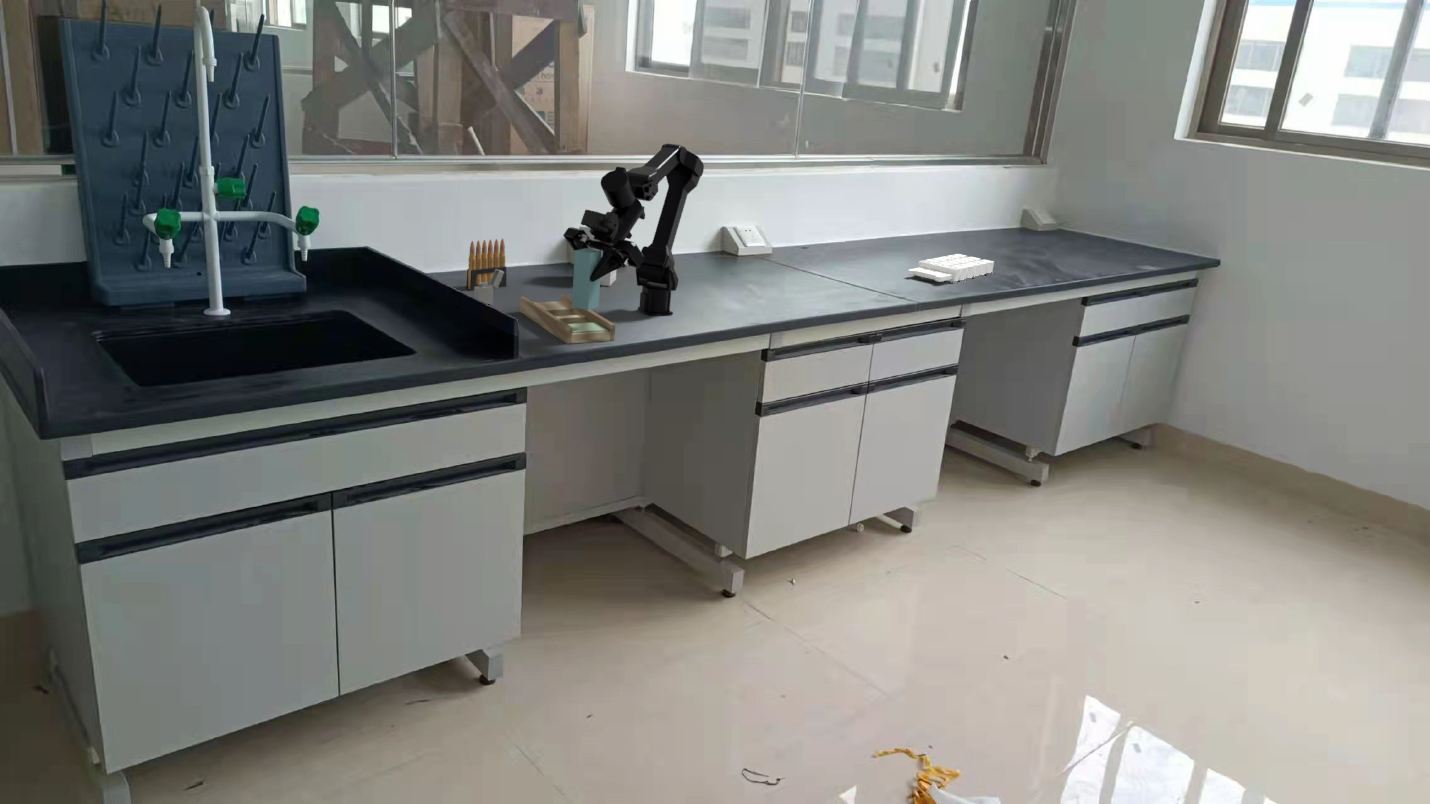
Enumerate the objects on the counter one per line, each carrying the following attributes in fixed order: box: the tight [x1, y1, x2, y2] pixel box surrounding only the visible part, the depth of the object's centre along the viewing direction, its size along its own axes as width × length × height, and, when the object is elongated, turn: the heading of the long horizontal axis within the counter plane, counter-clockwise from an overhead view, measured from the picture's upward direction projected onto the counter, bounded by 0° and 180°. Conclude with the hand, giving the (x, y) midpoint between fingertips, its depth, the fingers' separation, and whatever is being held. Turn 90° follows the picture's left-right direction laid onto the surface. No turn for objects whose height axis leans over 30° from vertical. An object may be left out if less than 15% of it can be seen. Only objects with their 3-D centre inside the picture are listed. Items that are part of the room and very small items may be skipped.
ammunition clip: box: [466, 238, 508, 292], centre depth 245 cm, size 11×2×12 cm, turn 138°
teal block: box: [572, 248, 601, 310], centre depth 210 cm, size 4×4×12 cm
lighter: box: [473, 269, 504, 306], centre depth 231 cm, size 7×2×8 cm, turn 138°
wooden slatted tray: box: [519, 294, 616, 345], centre depth 221 cm, size 11×26×4 cm, turn 32°
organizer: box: [907, 253, 995, 283], centre depth 317 cm, size 13×5×35 cm
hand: (582, 278), depth 208 cm, fingers closed on teal block, 4 cm apart
